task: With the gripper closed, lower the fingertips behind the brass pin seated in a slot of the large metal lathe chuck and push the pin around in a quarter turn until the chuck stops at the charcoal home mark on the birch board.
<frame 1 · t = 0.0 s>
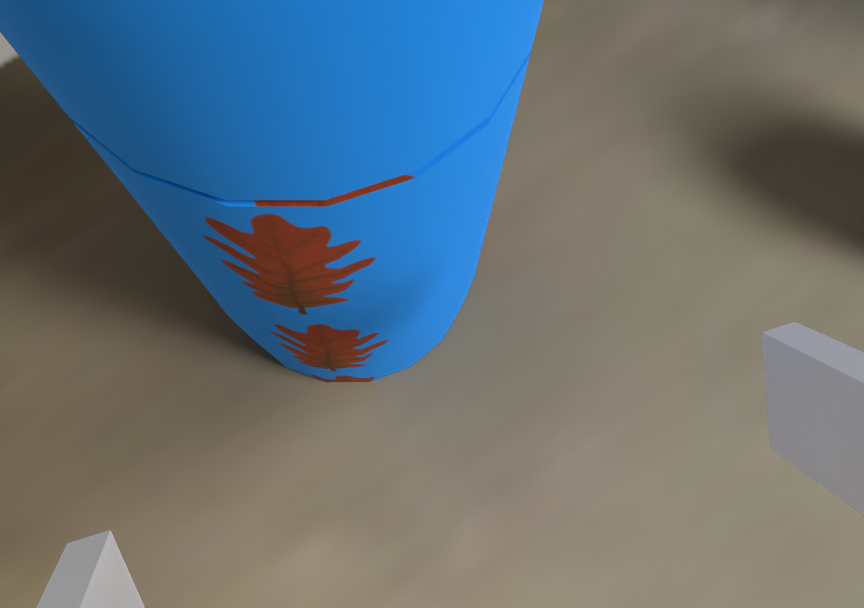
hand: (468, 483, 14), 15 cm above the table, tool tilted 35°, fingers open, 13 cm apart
thermos: (351, 269, 32), on the table
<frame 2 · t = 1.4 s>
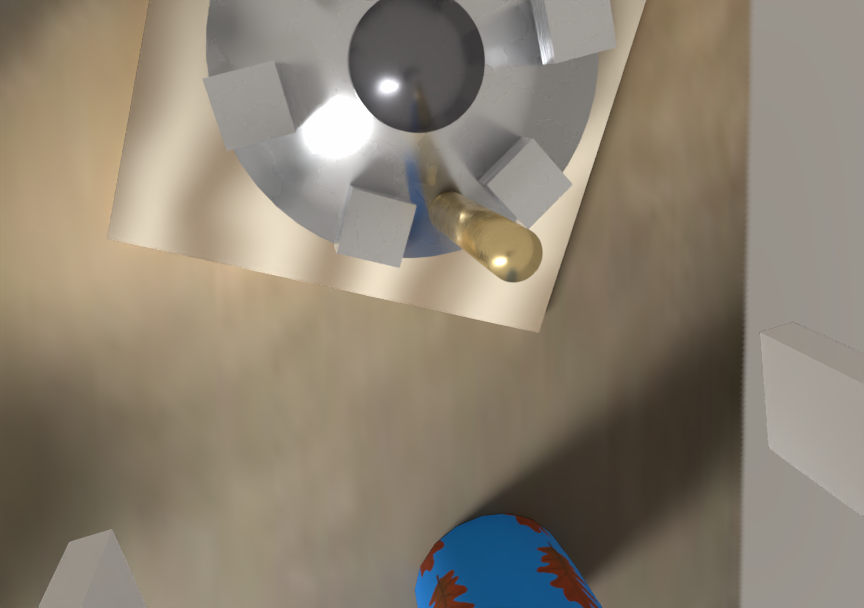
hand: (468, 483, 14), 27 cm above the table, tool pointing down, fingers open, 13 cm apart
thermos: (489, 579, 48), on the table
birch base board: (393, 68, 37), on the table
metal lathe chuck: (427, 60, 29), point 9 cm above the table, hinge at 0.0°
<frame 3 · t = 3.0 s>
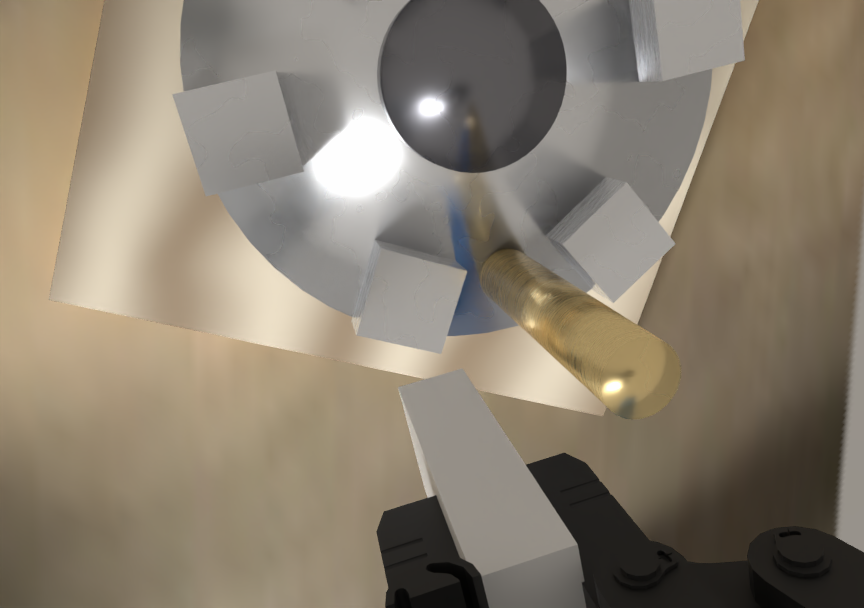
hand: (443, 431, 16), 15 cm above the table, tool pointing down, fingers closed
birch base board: (430, 81, 29), on the table
metal lathe chuck: (493, 74, 21), point 9 cm above the table, hinge at 0.0°
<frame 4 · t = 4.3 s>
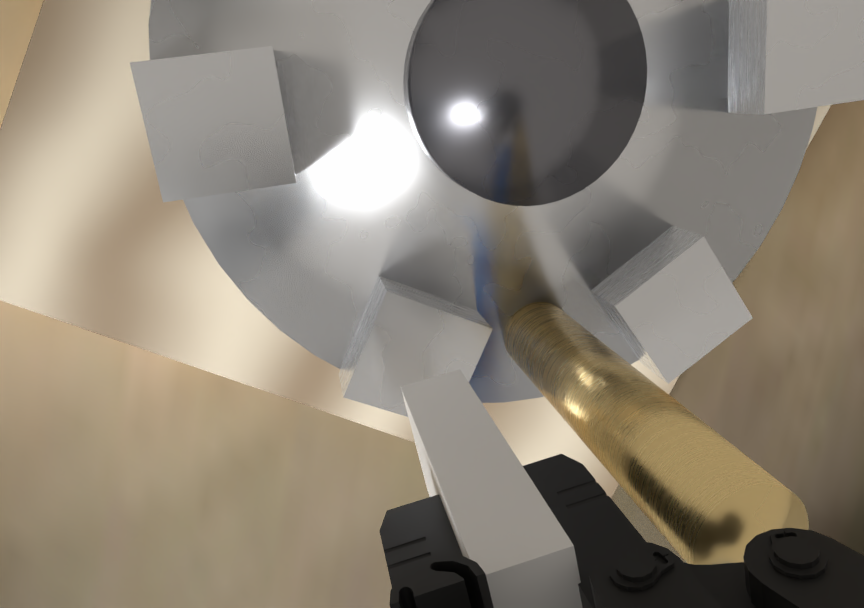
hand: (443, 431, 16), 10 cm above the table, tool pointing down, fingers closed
birch base board: (463, 85, 24), on the table
metal lathe chuck: (560, 82, 15), point 9 cm above the table, hinge at 2.7°, touching gripper
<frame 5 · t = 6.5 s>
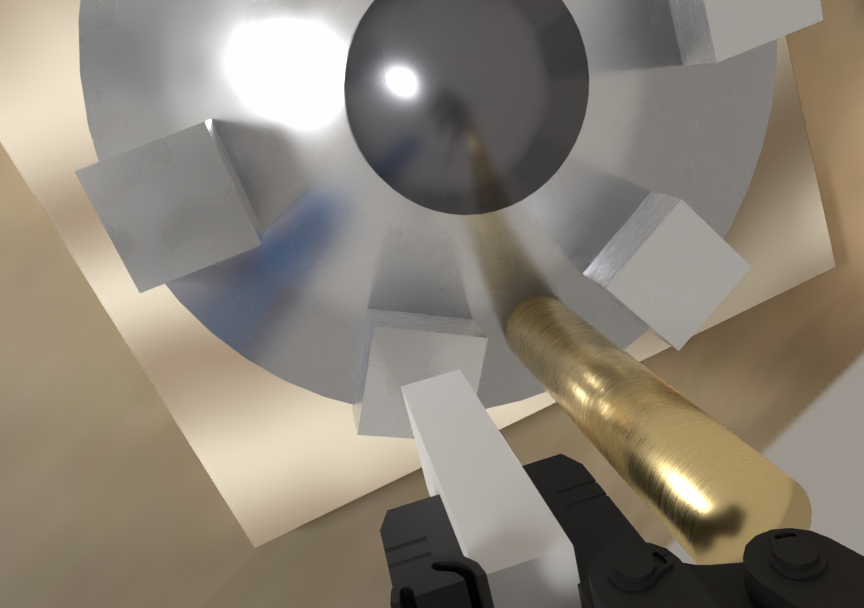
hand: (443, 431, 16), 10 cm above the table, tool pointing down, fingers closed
birch base board: (419, 91, 24), on the table
metal lathe chuck: (491, 90, 15), point 9 cm above the table, hinge at 57.2°, touching gripper
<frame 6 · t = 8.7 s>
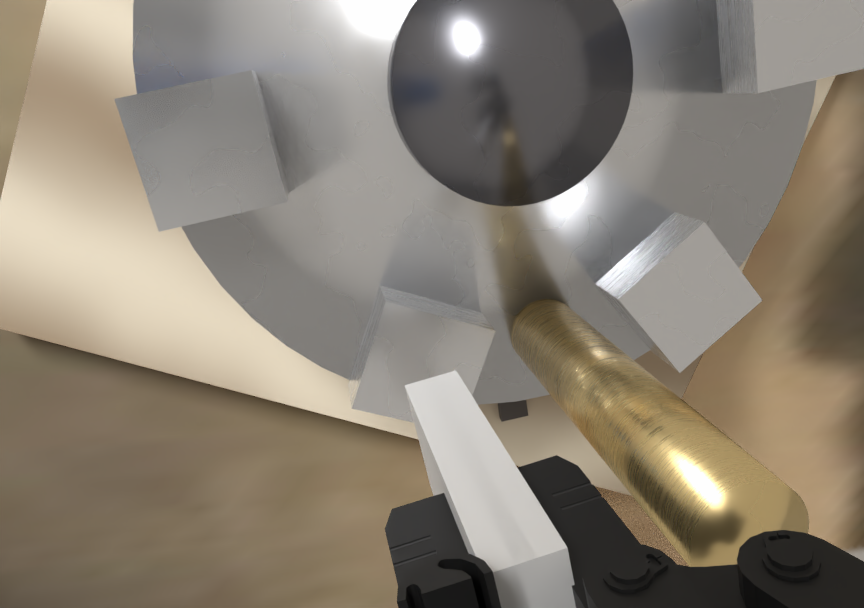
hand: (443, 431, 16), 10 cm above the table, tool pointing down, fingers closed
birch base board: (457, 85, 24), on the table
metal lathe chuck: (539, 81, 15), point 9 cm above the table, hinge at 92.5°, touching gripper
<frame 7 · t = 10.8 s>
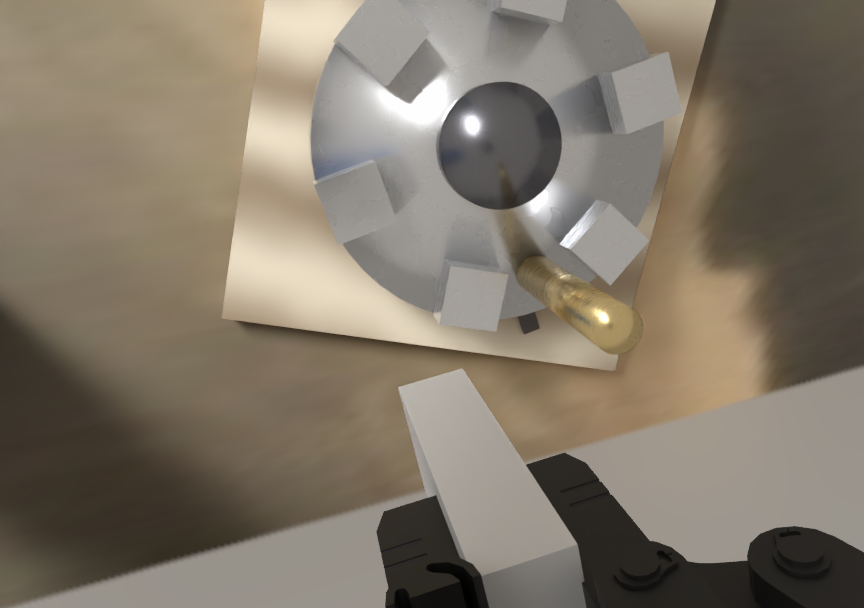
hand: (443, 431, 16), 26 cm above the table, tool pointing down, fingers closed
birch base board: (467, 140, 40), on the table
metal lathe chuck: (513, 149, 32), point 9 cm above the table, hinge at 90.9°
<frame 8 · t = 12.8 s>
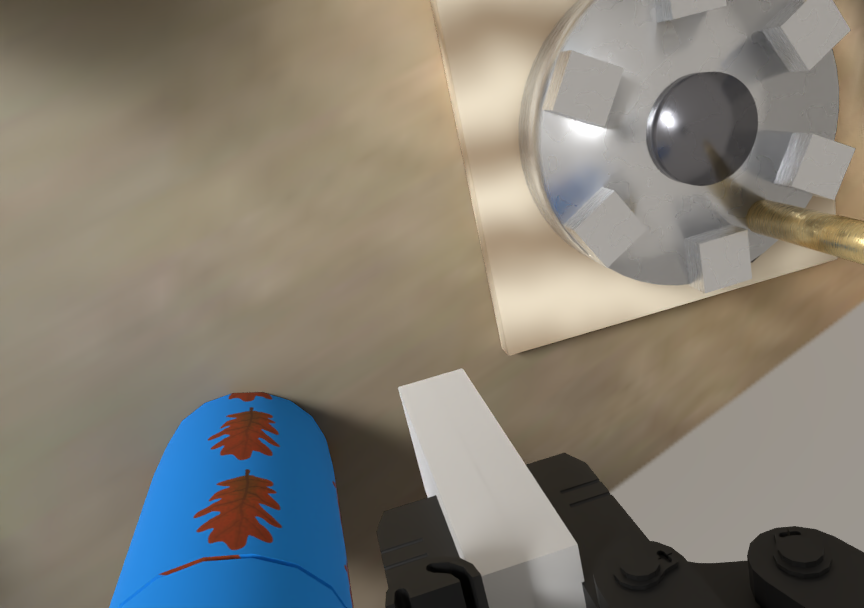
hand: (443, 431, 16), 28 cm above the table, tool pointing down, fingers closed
thermos: (249, 464, 46), on the table
birch base board: (645, 124, 45), on the table
metal lathe chuck: (727, 131, 37), point 9 cm above the table, hinge at 90.9°
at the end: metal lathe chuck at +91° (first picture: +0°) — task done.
